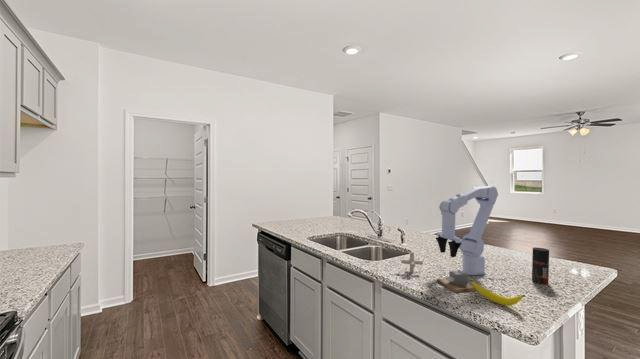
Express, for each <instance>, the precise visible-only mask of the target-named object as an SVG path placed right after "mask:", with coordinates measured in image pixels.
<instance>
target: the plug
mask: <svg viewBox="0 0 640 359" xmlns="http://www.w3.org/2000/svg"><path fill="white" fill-rule="evenodd" d="M448 275H449V276H445V278H446V280H447V281H449V282H451V283H452V284H454V285H465V284H468V281H469V277H468V276H469V275H468V273H467V272H465V271H459V270H454V271H449V274H448Z"/></svg>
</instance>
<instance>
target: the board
mask: <svg viewBox="0 0 640 359" xmlns="http://www.w3.org/2000/svg"><path fill="white" fill-rule="evenodd" d="M436 282H437V283H438V284H440V285H442V286H443V287H445V288H447V289H448V290H450V291H452V292H454V293H464V292H478V291H477V290H476V289H475V287H474V286H473V285H472V283H471V282H472V281H469V280H468V284H465V285H454V284H452V283H451V282H449V281H447V280H446V277H445V278H437V279H436Z"/></svg>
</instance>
